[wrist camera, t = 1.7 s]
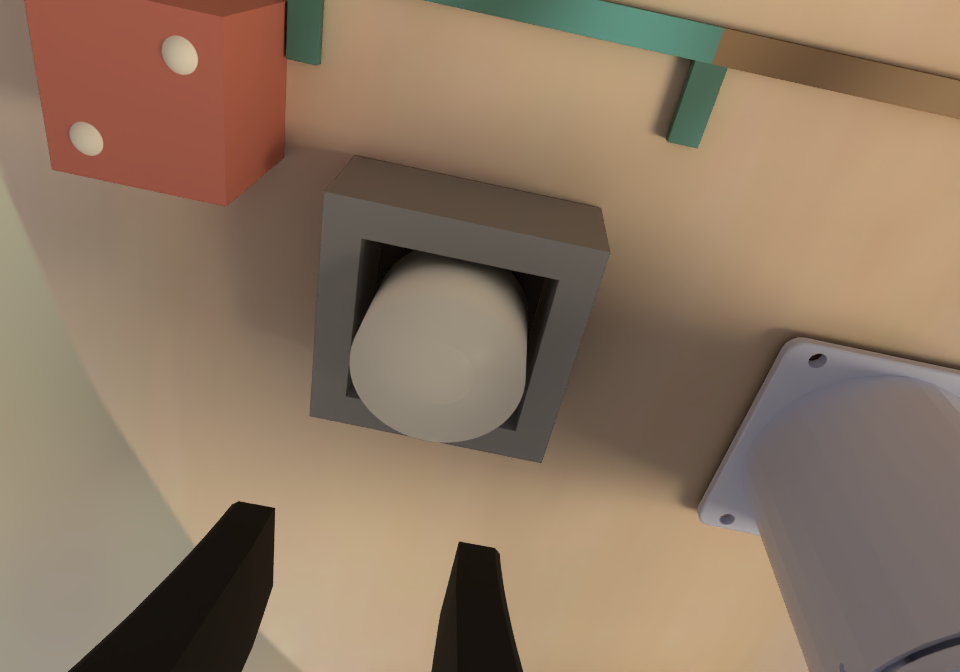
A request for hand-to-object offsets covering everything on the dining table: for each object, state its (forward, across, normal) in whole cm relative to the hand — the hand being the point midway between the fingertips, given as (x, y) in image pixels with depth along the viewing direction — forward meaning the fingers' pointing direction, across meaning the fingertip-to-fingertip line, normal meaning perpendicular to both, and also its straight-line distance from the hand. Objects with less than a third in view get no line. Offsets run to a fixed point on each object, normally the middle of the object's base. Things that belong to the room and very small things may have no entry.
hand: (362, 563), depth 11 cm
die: (+11, +7, -5) cm, 14 cm away
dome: (+9, -1, 0) cm, 9 cm away
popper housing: (+10, -1, 0) cm, 10 cm away
